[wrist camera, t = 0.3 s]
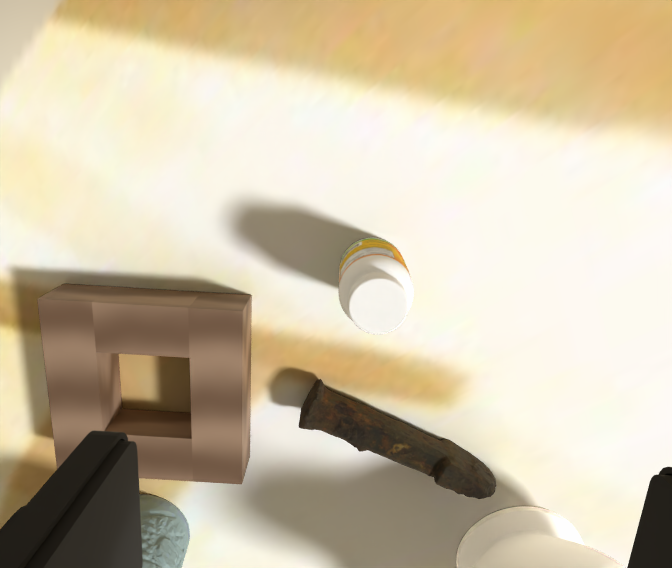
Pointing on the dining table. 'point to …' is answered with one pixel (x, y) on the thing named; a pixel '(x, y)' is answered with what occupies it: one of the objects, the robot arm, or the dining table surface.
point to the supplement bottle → (375, 285)
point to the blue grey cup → (162, 533)
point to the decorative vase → (527, 542)
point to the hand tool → (396, 442)
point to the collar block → (157, 340)
